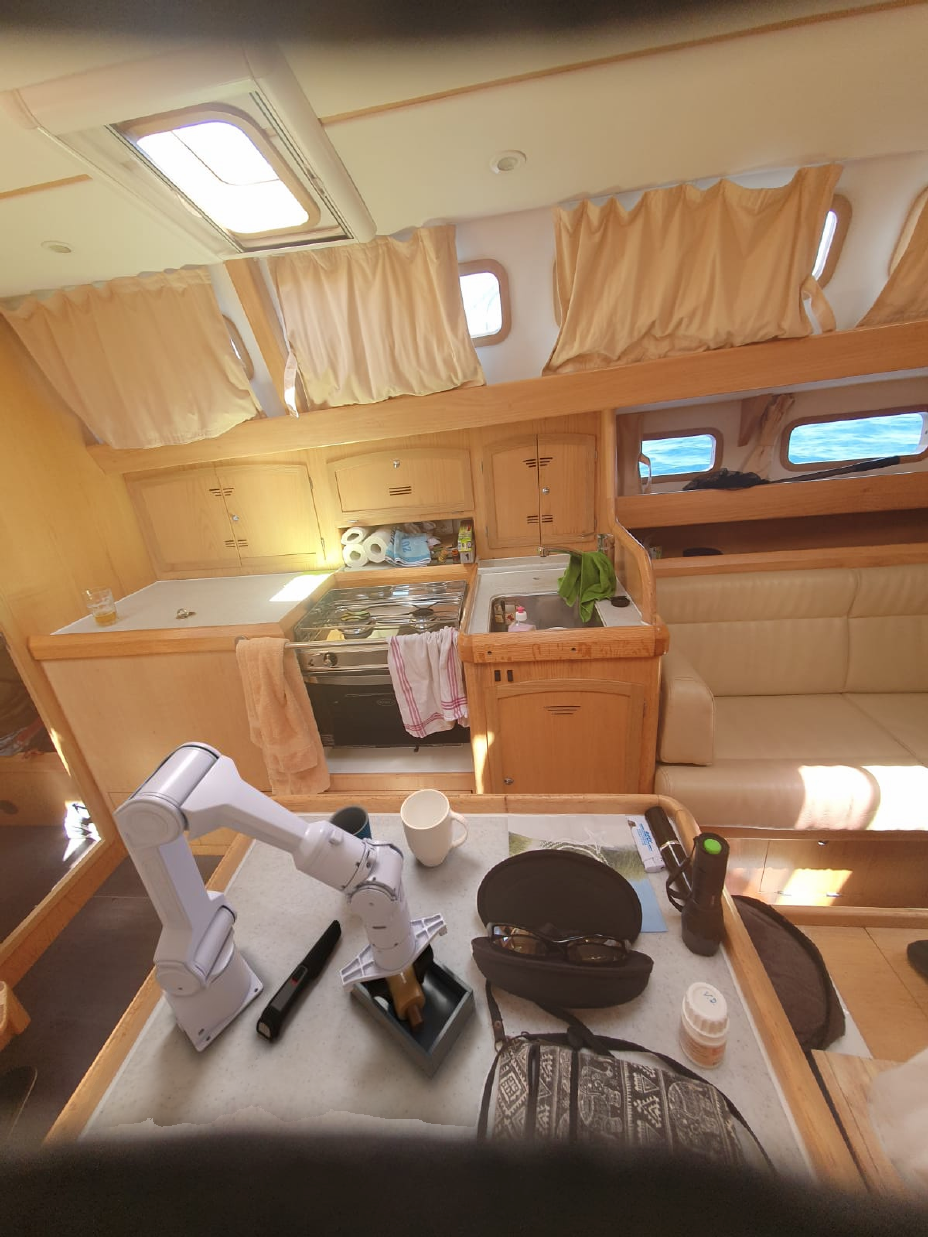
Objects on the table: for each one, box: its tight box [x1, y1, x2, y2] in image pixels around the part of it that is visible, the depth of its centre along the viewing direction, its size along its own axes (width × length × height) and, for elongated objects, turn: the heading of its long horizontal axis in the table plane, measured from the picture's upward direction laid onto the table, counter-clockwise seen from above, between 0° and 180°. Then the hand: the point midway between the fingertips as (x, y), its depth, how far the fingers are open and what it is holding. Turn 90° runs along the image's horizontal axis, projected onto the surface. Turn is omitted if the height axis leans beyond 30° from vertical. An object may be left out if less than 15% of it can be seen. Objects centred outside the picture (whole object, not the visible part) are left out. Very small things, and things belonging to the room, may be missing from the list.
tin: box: [349, 956, 476, 1080], centre depth 63 cm, size 9×16×4 cm, turn 52°
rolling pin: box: [385, 964, 425, 1032], centre depth 64 cm, size 4×11×4 cm, turn 28°
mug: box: [399, 788, 469, 868], centre depth 83 cm, size 12×9×12 cm
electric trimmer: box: [255, 919, 343, 1043], centre depth 67 cm, size 4×16×3 cm, turn 153°
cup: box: [328, 804, 373, 840], centre depth 78 cm, size 7×7×15 cm
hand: (404, 986), depth 64 cm, fingers closed on rolling pin, 4 cm apart
